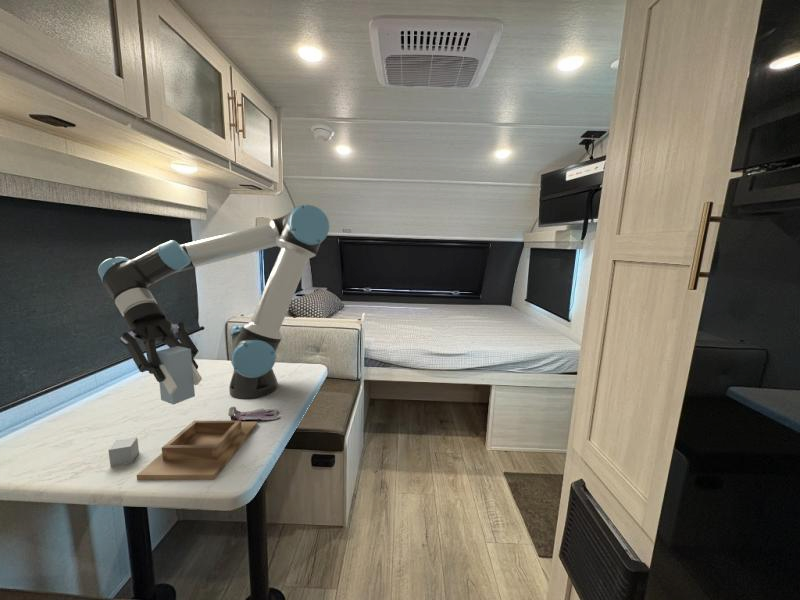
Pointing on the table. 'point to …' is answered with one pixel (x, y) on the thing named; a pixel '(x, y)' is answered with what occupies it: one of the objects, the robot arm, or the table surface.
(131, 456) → the grey block
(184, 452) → the tray
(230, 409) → the pink elongated piece
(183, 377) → the block
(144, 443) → the table surface
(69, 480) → the table surface
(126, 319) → the robot arm
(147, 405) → the table surface
